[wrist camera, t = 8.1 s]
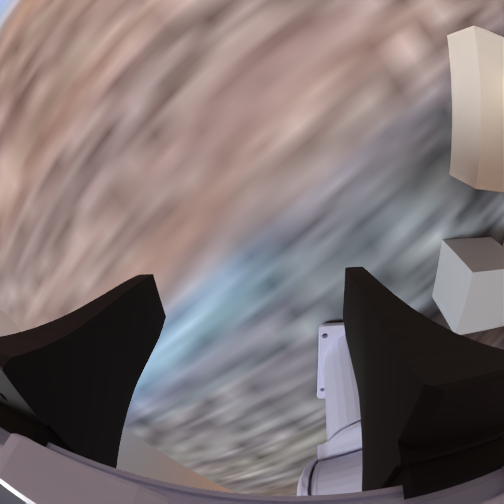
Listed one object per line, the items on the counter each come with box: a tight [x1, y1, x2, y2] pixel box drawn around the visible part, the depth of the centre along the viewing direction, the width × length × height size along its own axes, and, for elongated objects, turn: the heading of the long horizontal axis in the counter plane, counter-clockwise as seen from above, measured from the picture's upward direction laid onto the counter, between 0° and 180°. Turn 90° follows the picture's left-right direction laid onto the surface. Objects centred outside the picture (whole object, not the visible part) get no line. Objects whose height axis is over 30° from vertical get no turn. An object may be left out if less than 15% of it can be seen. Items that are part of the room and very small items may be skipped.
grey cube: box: [432, 237, 504, 335], centre depth 18 cm, size 5×5×5 cm
